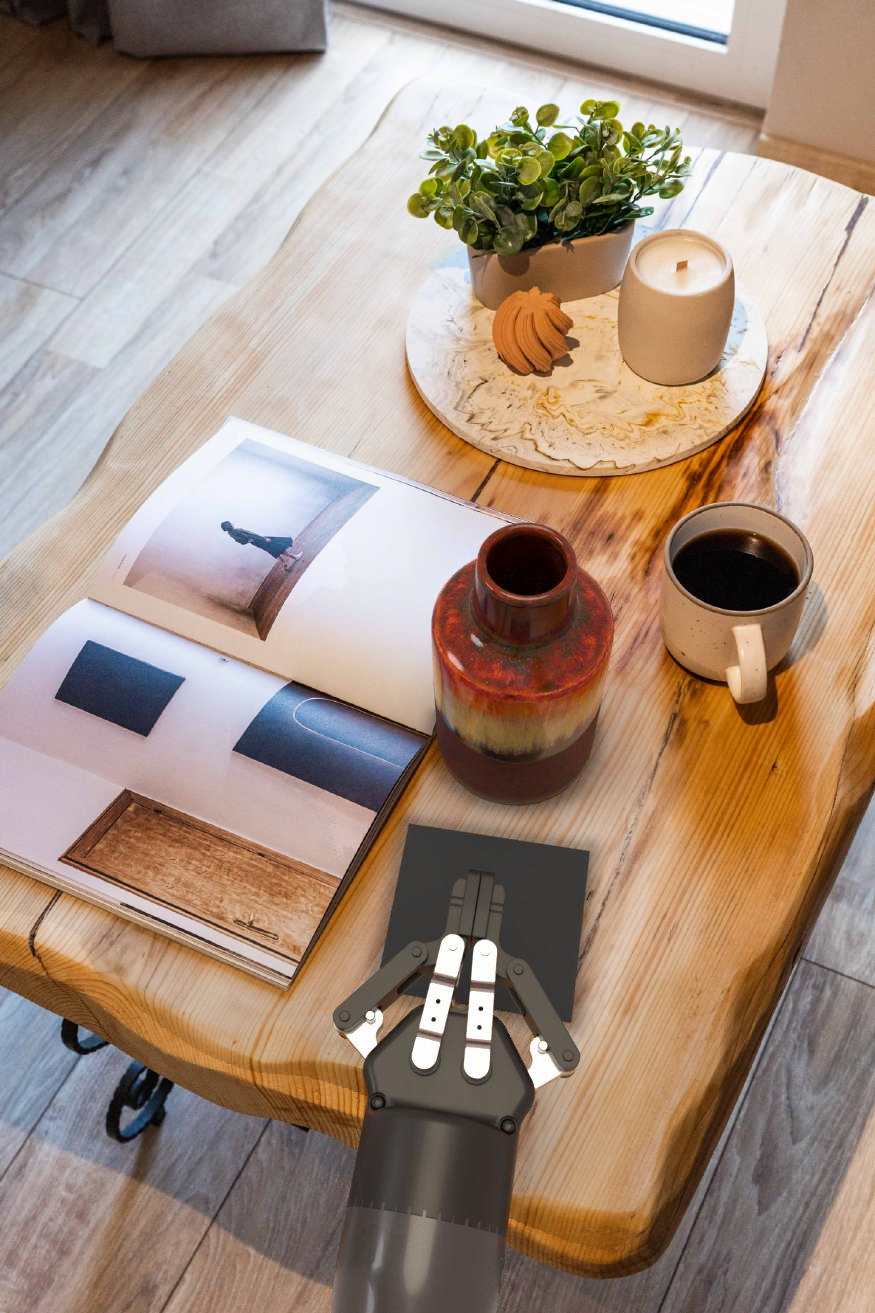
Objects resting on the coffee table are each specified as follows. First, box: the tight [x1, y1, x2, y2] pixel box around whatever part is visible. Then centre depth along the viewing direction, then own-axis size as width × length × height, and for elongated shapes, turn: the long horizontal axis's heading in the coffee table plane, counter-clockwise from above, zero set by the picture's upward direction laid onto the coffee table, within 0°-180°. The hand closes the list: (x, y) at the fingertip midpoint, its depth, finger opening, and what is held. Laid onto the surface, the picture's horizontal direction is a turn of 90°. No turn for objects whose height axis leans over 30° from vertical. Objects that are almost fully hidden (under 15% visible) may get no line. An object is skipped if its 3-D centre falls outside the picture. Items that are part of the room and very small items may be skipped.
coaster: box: [379, 823, 591, 1023], centre depth 70 cm, size 12×11×1 cm
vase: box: [430, 521, 615, 806], centre depth 68 cm, size 11×11×20 cm
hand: (481, 875), depth 60 cm, fingers closed
